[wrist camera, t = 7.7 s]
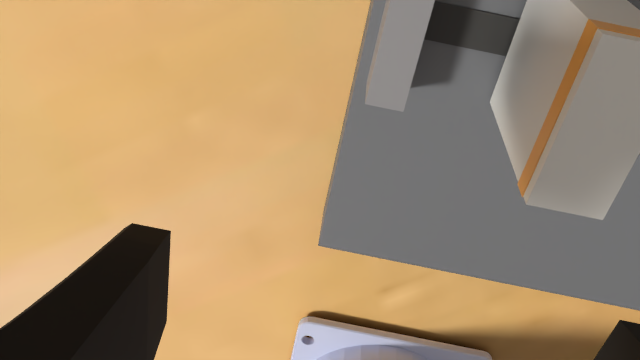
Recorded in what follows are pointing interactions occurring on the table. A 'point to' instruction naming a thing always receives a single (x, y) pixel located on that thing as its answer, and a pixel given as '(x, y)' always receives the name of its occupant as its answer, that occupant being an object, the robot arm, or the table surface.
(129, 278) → the robot arm
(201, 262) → the table surface
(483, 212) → the console
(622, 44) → the fader tab
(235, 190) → the table surface
